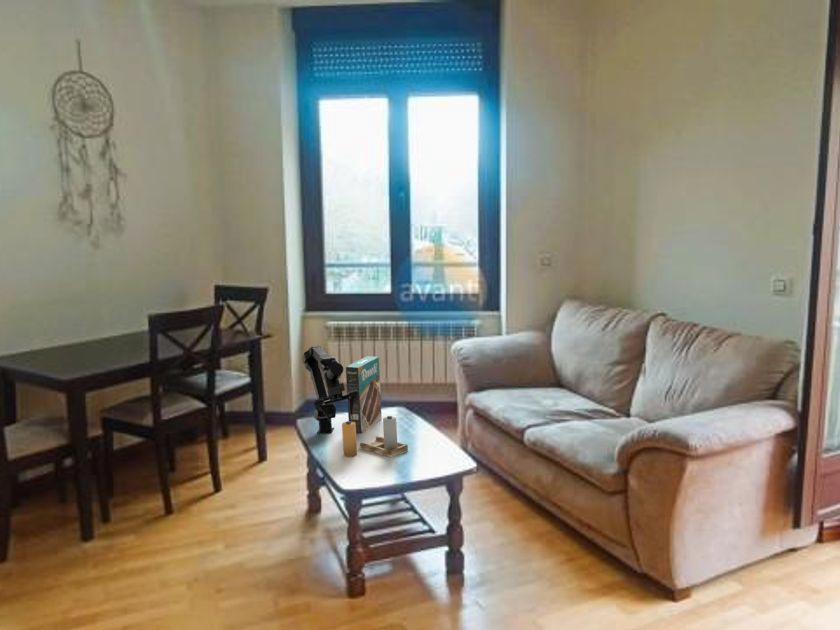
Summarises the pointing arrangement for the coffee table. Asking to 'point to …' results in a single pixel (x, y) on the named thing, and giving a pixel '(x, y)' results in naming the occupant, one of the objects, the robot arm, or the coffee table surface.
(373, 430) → the coffee table surface
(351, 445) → the orange bottle
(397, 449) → the slot rack
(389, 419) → the grey bottle
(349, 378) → the cake mix box
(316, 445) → the coffee table surface
